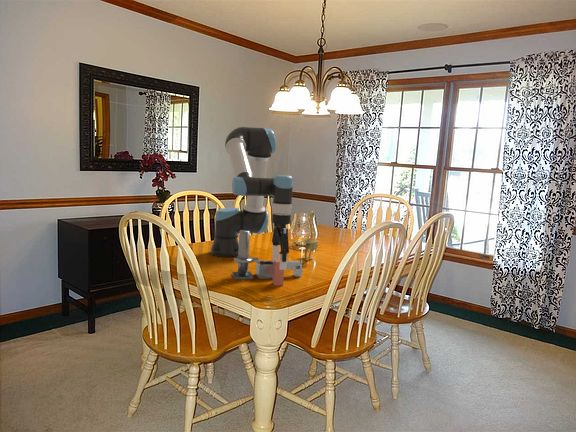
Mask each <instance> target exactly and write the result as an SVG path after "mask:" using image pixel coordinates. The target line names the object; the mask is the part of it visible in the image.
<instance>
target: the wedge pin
mask: <svg viewBox="0 0 576 432" xmlns="http://www.w3.org/2000/svg"><path fill="white" fill-rule="evenodd" d="M279 267H280V259H279V260H274V266H273V279H272V284H273V286H274V287H275V286H284V278H285V277H284V276H285V275H284V273H285V270H280V269H279Z"/></svg>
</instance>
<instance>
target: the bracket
mask: <svg viewBox="0 0 576 432" xmlns="http://www.w3.org/2000/svg"><path fill="white" fill-rule="evenodd" d="M255 263H256V264H255V265H256V266H255V275H256V277H257V278H258V280H266V279H267V280H270V279H271V280H273V266H274V261H272V260H259V262H255ZM286 270H293V274H292V275H293V276H294V277H295V278H299V277H300V278H301V277H302V276H303V265H302V264H301V261H300V260H287V268H286Z"/></svg>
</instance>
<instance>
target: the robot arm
mask: <svg viewBox="0 0 576 432" xmlns="http://www.w3.org/2000/svg"><path fill="white" fill-rule="evenodd" d="M224 142H225V143H224V146H225V147H224V148H225V150H226V152H227V154H228V155H229V158H230V161H231V165H232V171H233V174H234V177H233V178H232V181H231V182H232V183H231V191H232V194H233V195H235V196H241V197H246V204H244V206H243V207H242V210H240V209H239V208H238V207H225V208H220V209H217V210H216V211H215V216H214V239H213V242H212V244H211V247H210V255H212V256H215V257H221V258H222V257H223V258H234V257H238V253H239V231H240V230H248V231H250V234H263V233H265V231H266V230H267V228H268V226H269V217H270V216H269V212H268V211H267V210H266V207H265V206H264V200H265V197H273V198H272V210H271V211H272V213H273V214H272V215H271V216H272V217H271V222H272V224H273V225H274V227H273V233H272V237H271V238H272V239H271V244H272V255H271V256H272V258H271V261H274V260H280V267H279V269H280V270H284V271H286V270H287V269H286V268H287V261H288V254H289V253H290V245H289V244H290V243H289V228H287V225H290V224H291V221H292V215H291V213H292V209H293V205H292V200H293V187H294V183H293V182H294V181H293V180H294V178H293V177H292V175H286V174H276V175H275V176H274V177H268V178H267V171H268V161H269V160H270V158H271V157H272V154H274V153H276V148H277V140H276V135H275V132H274V131H273V130H272V129H271V128H265V127H250V126H249V127H248V126H240V127H237V128H234V129H233V130H230V132H229V134H228V135H227V136H226V138H225V141H224Z"/></svg>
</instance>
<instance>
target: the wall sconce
mask: <svg viewBox="0 0 576 432" xmlns="http://www.w3.org/2000/svg"><path fill="white" fill-rule="evenodd" d="M314 217H315V212H314V210H311V211H310V214H309V218H308V220H309V229H310V231H309V232H310V237H309V238H307V237H306V238H304V237H303V238H299V239H298V242H300V243H304V244H305V249H304V259H305V261H307V262H308V261H309V260H310V258H311V256H312V252H313V251H316V250H317V249H318V248H319V240H317V238H314V236H313V226H312V225H313V224H312V219H314ZM308 252H309V254H308ZM307 254H308V256H307Z"/></svg>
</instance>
